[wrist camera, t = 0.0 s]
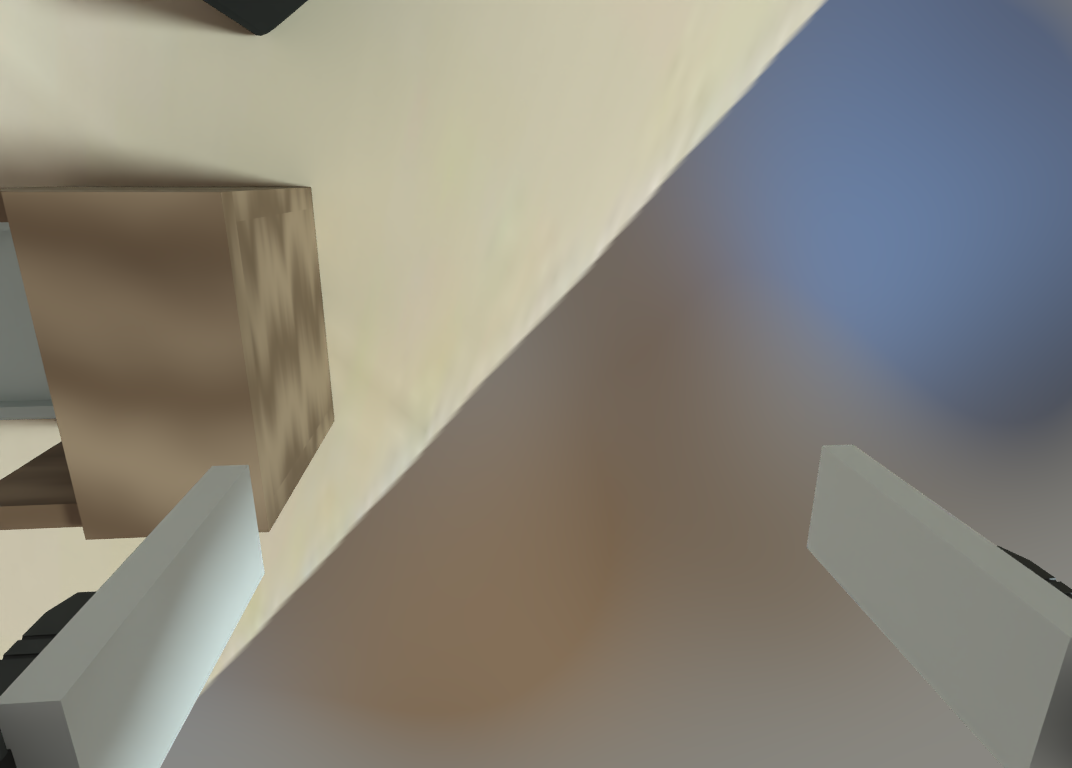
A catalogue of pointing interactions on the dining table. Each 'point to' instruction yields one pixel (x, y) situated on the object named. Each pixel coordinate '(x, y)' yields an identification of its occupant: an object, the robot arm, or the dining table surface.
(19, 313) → the teal drawer
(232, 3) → the electronic device
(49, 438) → the dining table surface
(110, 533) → the wooden drawer box
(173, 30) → the dining table surface
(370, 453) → the dining table surface
